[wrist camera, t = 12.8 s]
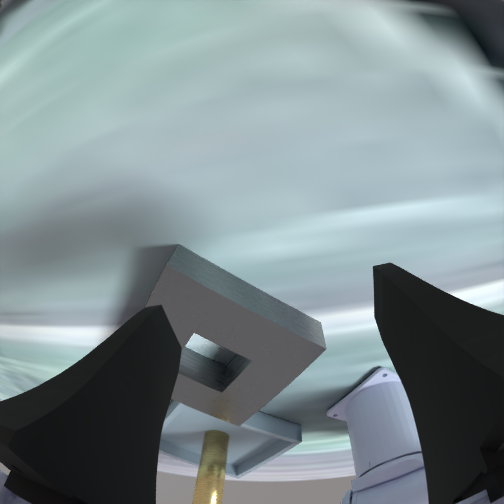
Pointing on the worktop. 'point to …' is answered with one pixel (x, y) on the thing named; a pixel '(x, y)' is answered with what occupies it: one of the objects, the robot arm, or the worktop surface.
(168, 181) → the worktop surface
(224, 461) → the cylinder
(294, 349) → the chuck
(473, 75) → the worktop surface
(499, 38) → the worktop surface
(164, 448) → the tray
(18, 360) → the worktop surface
